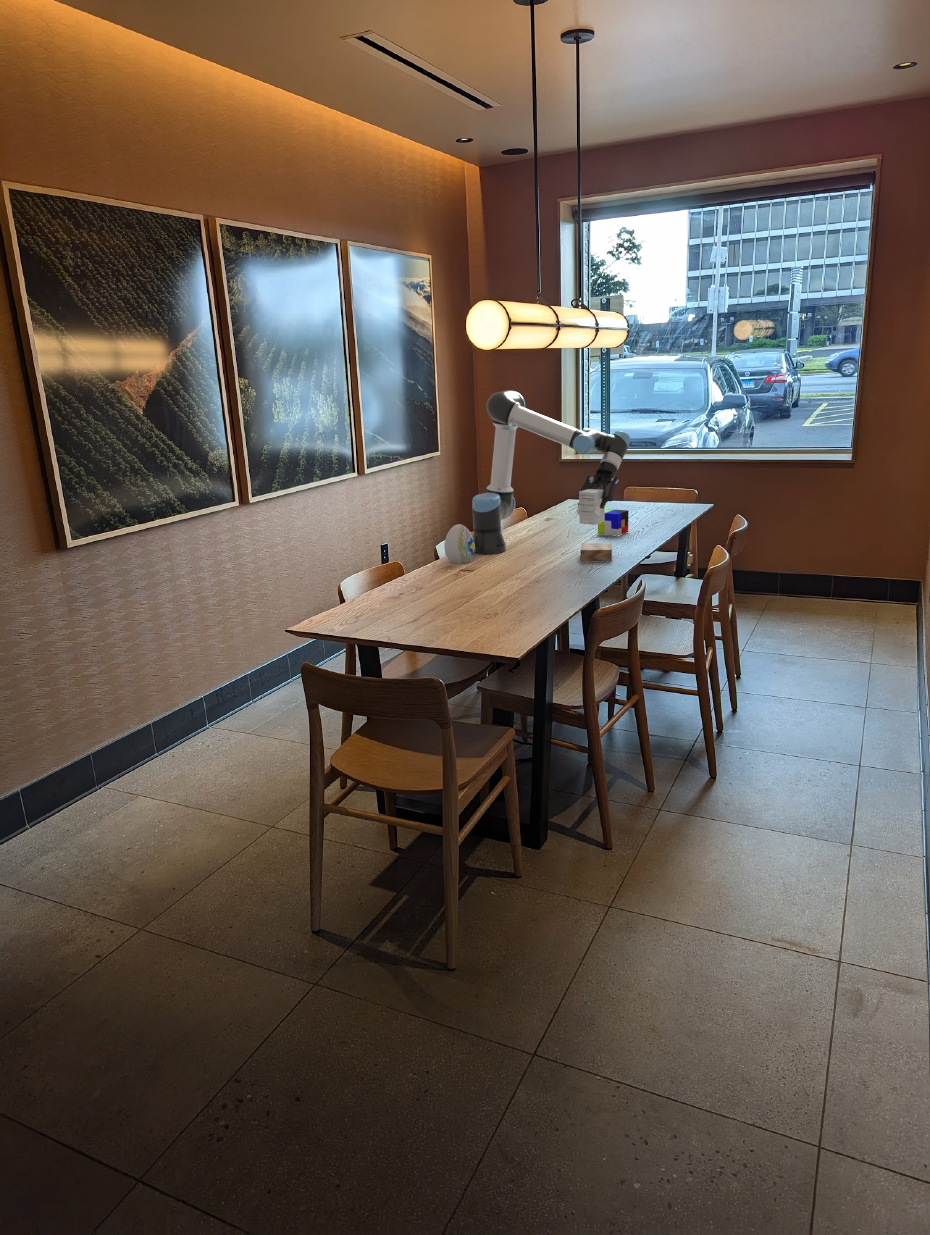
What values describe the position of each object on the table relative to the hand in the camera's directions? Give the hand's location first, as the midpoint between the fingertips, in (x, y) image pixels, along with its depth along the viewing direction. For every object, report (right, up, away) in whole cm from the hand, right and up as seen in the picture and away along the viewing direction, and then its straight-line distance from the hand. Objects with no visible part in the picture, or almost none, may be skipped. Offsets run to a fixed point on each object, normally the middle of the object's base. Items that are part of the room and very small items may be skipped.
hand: (587, 513), depth 323 cm
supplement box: (+2, -3, +4) cm, 5 cm away
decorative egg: (-49, -18, +13) cm, 54 cm away
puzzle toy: (+19, -3, +53) cm, 56 cm away
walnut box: (+5, -17, +8) cm, 19 cm away
